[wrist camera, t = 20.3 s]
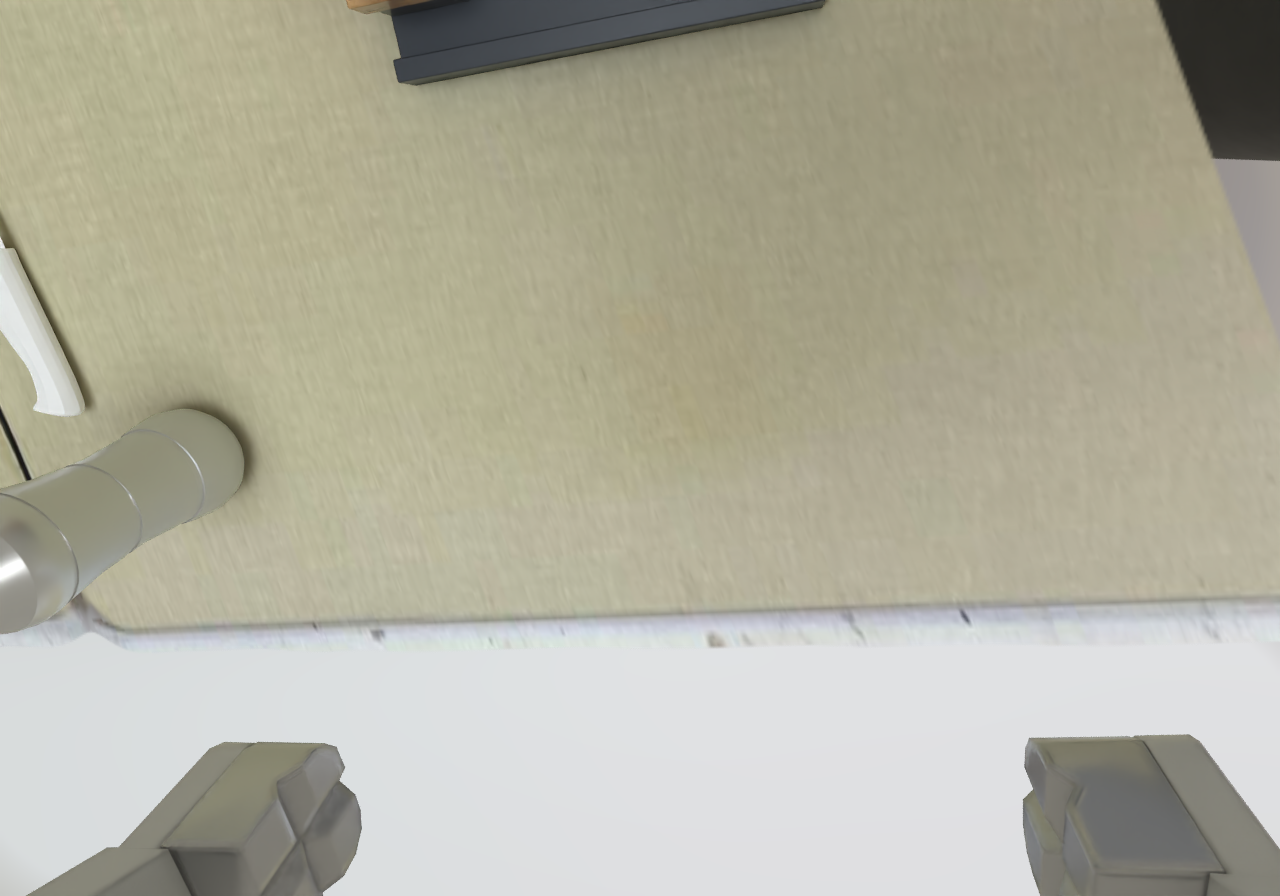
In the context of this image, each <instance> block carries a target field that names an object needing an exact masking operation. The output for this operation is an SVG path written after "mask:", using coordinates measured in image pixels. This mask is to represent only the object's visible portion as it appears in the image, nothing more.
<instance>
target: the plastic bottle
mask: <svg viewBox="0 0 1280 896" xmlns="http://www.w3.org/2000/svg"><path fill="white" fill-rule="evenodd" d="M244 464H245V463H244V455H243V451H242V448H241V445H240V443H239V441H238V439H237V438H236V436H235V435H234V433H233V432H232V431H231V430H230V429H229V428H228V427H227V426H226V425H225V424H224V423H223V422H221V421H220V420H218V419H217V418H215V417H213V416H211V415H208V414H206V413H203V412H200V411H198V410H193V409H176V410H171V411H166V412H161V413H158V414H154V415H152V416H150V417H148V418H147V419H145V420H144V421H142V422H140V423H139V424H137V425H136V426H134V427H133V428H131V429H130V430H129V431H127V432H126V433H125V434H124V435H123V436H122V437H121V438H120V439H118V440H116V441H115V442H113V443H111V444H109V445H108V446H106V447H104V448H102V449H101V450H99V451H97V452H96V453H94V454H92V455H90V456H89V457H87V458H85V459H83V460H81V461H79V462H76V463H73V464H71V465H68V466H66V467H64V468H62V469H58V470H55V471H53V472H50V473H48V474H45V475H43V476H40V477H37V478H35V479H32V480H29V481H26V482H22V483H19V484H15V485H12V486H8V487H5V488H1V489H0V634H8V633H13V632H18V631H21V630H24V629H27V628H30V627H33V626H36V625H38V624H40V623H42V622H44V621H46V620H48V619H49V618H50V617H51V616H53V615H54V614H55V613H57V612H58V611H60V610H61V609H62V608H63V607H64V606H65V605H66V604H67V603H69V602H70V601H71V600H72V599H73V598H74V597H75V596H77V595H78V594H79V593H80V592H81V591H82V590H83V589H85V588H86V587H87V586H88V585H89V584H90V583H91V582H93V581H94V580H95V579H96V578H97V577H98V576H99V575H100V574H102V573H103V572H104V571H106V570H107V569H108V568H110V567H111V566H113V565H114V564H115V563H117V562H118V561H120V560H121V559H122V558H124V557H125V556H126V555H127V554H128V553H130V552H132V551H134V550H135V549H136V548H138V547H139V546H140V545H142V544H143V543H145V542H147V541H149V540H151V539H153V538H155V537H156V536H158V535H160V534H162V533H164V532H166V531H168V530H170V529H172V528H174V527H176V526H178V525H180V524H183V523H187V522H190V521H193V520H196V519H198V518H200V517H203V516H205V515H207V514H209V513H211V512H213V511H215V510H217V509H219V508H220V507H221V506H223V505H224V504H225V503H226V502H227V501H228V500H229V499H230V498H231V497H232V496H233V495H234V494H235V493H236V491H237V490H238V488H239V487H240V485H241V482H242V479H243V473H244Z"/></svg>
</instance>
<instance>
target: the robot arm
mask: <svg viewBox="0 0 1280 896" xmlns="http://www.w3.org/2000/svg"><path fill="white" fill-rule="evenodd" d="M344 769H345V766H344V764H343V761H342V759H341V757H340V754H339V752H338V750H337V747H335V746H332V745H328V744H325V743H282V742H257V743H239V742H238V743H237V742H224V743H221V744H219V745H217V746H214V747H212V748H210V749H209V750H208V751H207V752H206V753H205V754H204V755H203V756H202V758H201V759H200V760H199V761H198V762H197V763H196V764H195V765H194V766H193V767H192V769H190V771H189V772H188V773H187V774H186V775H185V776H184V777H183V778H182V779H181V780H180V782H178V784H177V785H176V786H175V787H174V788H173V789H172V790H171V791H170V792H169V793H168V794H167V795H166V797H165V798H164V799H163V800H162V801H161V802H160V803H159V804H158V805H157V806H156V807H155V809H154V810H153V811H152V812H151V813H150V814H149V815H148V816H147V817H146V819H144V820H143V822H142V823H141V824H140V825H139V826H138V827H137V828H136V829H135V830H134V831H133V832H132V833H131V834H130V836H129V837H128V838H127V839H126V840H125V841H124V842H123V843H122V844H121V845H120V846H119V847H118V848H117V847H116V848H115V847H114V848H106V849H104V850H102V851H101V852H99V853H97V854H96V855H94V856H92V857H91V858H89V859H87V860H85V861H84V862H82V863H80V864H79V865H77V866H76V867H74V868H72V869H70V870H69V871H67V872H65V873H64V874H62V875H60V876H59V877H57V878H55V879H53V880H52V881H50V882H48V883H47V884H45V885H43V886H42V887H40V888H38V889H37V890H35V891H33V892H32V893H30V894H28V895H27V896H323V892H324V891H325V890H327V889H328V888H329V887H330V886H332V885H333V884H334V883H336V882H337V881H338V880H339V879H340V878H342V877H343V876H344V875H345V873H346V871H347V869H348V867H349V865H350V864H351V862H352V860H353V858H354V856H355V854H356V850H357V846H358V842H359V838H360V833H361V829H362V826H361V810H360V807H359V804H358V801H357V798H356V796H355V794H354V793H353V792H352V791H350V790H349V789H348V788H347V787H346V786H345V785H344V784H342V783H341V782H340V781H339V780H340V778H341V775H342V773H343V771H344ZM1025 769H1026V772H1027V774H1028V777H1029V779H1030V782H1031V784H1032V787H1033V790H1032V791H1031V792H1030V793H1029V794H1028V795H1027V796H1026V797H1025V798H1024V799H1023V828H1024V835H1025V841H1026V849H1027V854H1028V858H1029V862H1030V865H1031V869H1032V873H1033V876H1034V879H1035V882H1036V884H1037V887H1038V890H1039V893H1040V896H1280V849H1279V847H1278V846H1277V845H1276V844H1275V842H1274V841H1273V839H1272V838H1271V837H1270V835H1269V834H1268V833H1267V831H1266V830H1265V829H1264V827H1263V826H1262V824H1261V823H1260V822H1259V820H1258V819H1257V818H1256V816H1255V815H1254V814H1253V812H1252V811H1251V810H1250V808H1249V807H1248V806H1247V805H1246V803H1245V802H1244V800H1243V799H1242V798H1241V796H1240V795H1239V793H1238V792H1237V791H1236V790H1235V788H1234V787H1233V785H1232V784H1231V783H1230V781H1229V780H1228V779H1227V777H1226V776H1225V775H1224V773H1223V772H1222V770H1221V769H1220V768H1219V766H1218V765H1217V764H1216V763H1215V761H1214V760H1213V758H1212V757H1211V756H1210V754H1209V753H1208V752H1207V750H1206V749H1205V748H1204V746H1203V745H1202V743H1200V741H1198V740H1197V739H1195V738H1194V737H1192V736H1191V735H1145V736H1134V737H1128V736H1125V737H1124V736H1122V737H1061V738H1060V737H1058V738H1029V740H1028V743H1027V746H1026V750H1025Z"/></svg>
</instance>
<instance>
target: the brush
mask: <svg viewBox="0 0 1280 896" xmlns="http://www.w3.org/2000/svg"><path fill="white" fill-rule="evenodd" d="M346 1H347V5H348V8H349V9H352V10H355V11H358V12H361V13H364V14H369V13H374V12H381V13H384V14H387V15H390V16H398V15H403V14H408V13H413V12H418V11H422V10H427V9H432V8H437V7H442V6H447V5H452V4H456V3H461V2H466V1H469V0H346Z"/></svg>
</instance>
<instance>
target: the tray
mask: <svg viewBox="0 0 1280 896" xmlns="http://www.w3.org/2000/svg"><path fill="white" fill-rule="evenodd" d="M824 2H825V0H469V1H466V2H461V3H456V4H452V5H447V6H442V7H437V8H432V9H427V10H422V11H418V12H413V13H408V14H403V15H398V16H392V21H393V25H394V29H395V33H396V38H397V42H398V46H399V50H400V55H401V58H400V59H395V60H393V62H394V66H395V71H396V75H397V79H398V82H399V83H404V84H410V85H421V84H426V83H432V82H437V81H442V80H447V79H452V78H458V77H463V76H468V75H473V74H478V73H484V72H489V71H494V70H499V69H504V68H510V67H515V66H520V65H525V64H531V63H536V62H541V61H546V60H551V59H557V58H562V57H567V56H572V55H577V54H583V53H588V52H593V51H598V50H604V49H609V48H614V47H619V46H624V45H630V44H635V43H640V42H645V41H650V40H656V39H661V38H666V37H671V36H677V35H682V34H687V33H692V32H697V31H703V30H708V29H713V28H718V27H723V26H729V25H734V24H739V23H744V22H749V21H755V20H760V19H765V18H770V17H776V16H781V15H786V14H791V13H796V12H802V11H807V10H812V9H817V8H822V7H823V5H824Z"/></svg>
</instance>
